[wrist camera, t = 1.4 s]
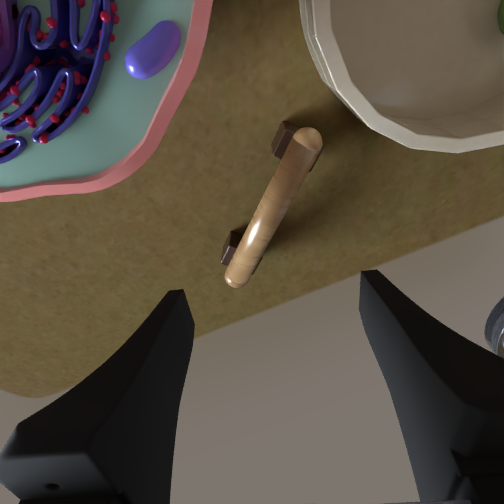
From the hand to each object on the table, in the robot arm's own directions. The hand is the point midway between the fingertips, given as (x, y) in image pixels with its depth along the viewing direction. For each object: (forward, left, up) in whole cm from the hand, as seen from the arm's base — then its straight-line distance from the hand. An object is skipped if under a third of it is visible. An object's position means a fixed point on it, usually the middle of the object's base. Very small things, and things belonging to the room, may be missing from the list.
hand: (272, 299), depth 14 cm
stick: (0, 0, -8) cm, 8 cm away
